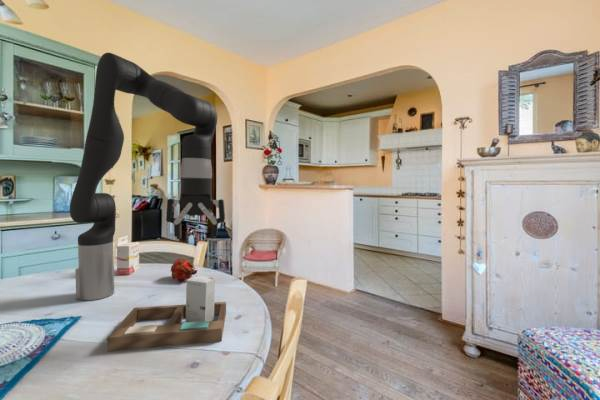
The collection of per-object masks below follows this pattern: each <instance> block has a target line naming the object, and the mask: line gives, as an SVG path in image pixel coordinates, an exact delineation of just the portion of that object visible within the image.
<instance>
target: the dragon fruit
mask: <svg viewBox="0 0 600 400" xmlns="http://www.w3.org/2000/svg"><path fill="white" fill-rule="evenodd" d="M170 272H171V278H172V279H173V280H174V279H175V280H178V282H181V283H183V282H184V283H185V282H186V281H184V280H188V279H190V278H192V277H193V275H194V276H195V275H197V273H198V270H197V269H196V268H195V266H194V264H193V263H192V261H191V260H189V259H188V260H187V259H186V258H178V259H177V260H175V261H174V263H172V265H171V267H170Z"/></svg>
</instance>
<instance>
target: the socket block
mask: <svg viewBox="0 0 600 400" xmlns="http://www.w3.org/2000/svg"><path fill="white" fill-rule="evenodd" d="M226 313H227V301H218V302H216V301H215V302H214V316H215V315H216V316H217V315H218V318H217V320H214V321H199V322H186V321H185V322H183V320H184V318H186V303H185V304H175V305H170V304H169V305H157V306H142V307H141V306H140V307H134V308H133V309H132V310H130V312H129V313H128V314H127V315H126V316H125V317H124V319H123V320H122V321H121V322H119V324H118V325H117V326H116V328H115V329H114V330H113V331H111V333H110V334H109V335H108V336H107V338H106V344H107V345H106V346H107V347H106V348H107V349H106V350H107V352H111V351H112V352H114V351H124V350H125V351H126V350H138V349H147V348H149V349H150V348H158V347H168V346H169V347H171V346H179V345H182V346H183V345H190V344H192V345H193V344H202V343H213V342H214V343H215V342H222V340H223V334H224V327H225V320H226V315H227V314H226ZM162 319H169V321H168V322H167V324H149V325H135V324H136V323H137V322H138V321H148V320H162Z"/></svg>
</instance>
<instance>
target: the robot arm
mask: <svg viewBox="0 0 600 400" xmlns="http://www.w3.org/2000/svg"><path fill="white" fill-rule="evenodd" d="M94 81H95V82H94V93H93V102H92V103H93V105H92V109H91V115H90V120H89V125H88V129H87V133H86V136H85V137H86V139H85V142H84V148H83V155H82V160H81V164H80V169H79V173H78V176H77V179H76V183H75V186H74V189H73V192H72V194H71V195H72V196H71V198H70V202H69V215H70V217H71V219H72V221H73V222H75V223H77V224H88V223H93V225H92V226H91V228H89V229H88V230H86V231H85V232H82V233H80V234H79V235H78V236H77V249H78V250H77V251H78V253H77V254H78V257H77V258H78V267H77V268H75V293H76V294H75V299H76V300H81V301H96V300H100V299H104V298H107V297H109V296H111V295H113V294H115V266H114V265H115V264H114V263H115V261H114V235H115V232H116V217H117V216H116V215H117V209H116V208H117V205H116V201H115V199H114V197H113V196H112V195H111V194H110V193H106V192H96V191H97V188H98V186H99V184H100V182H101V180H102V179H103V178H104V177H105V176H106V175H107V174H108V173H109V172H110V171H111V170H112V168H113V167H114V166H116V164H118V161H119V160H120V158H121V155H122V152H123V146H124V142H125V133H124V131H123V128H122V125H121V123H120V120H119V117H118V116H117V112H116V108H115V96H116V91H119V92H122V93H125V94H129V95H136V96H141V97H144V98H146V99H148V100H149V102H150V103H151V104H152V105H154V106H155V107H157V108H159V109H160V110H162V111H165V112H166V113H168V114H170V115H171V116H172V118H174V119H175V120H177V121H179V122H180V123H183V124H185V125H188V126H193V127H195V128H194V131H193V134H187V135H185V136H183V138H182V141H181V142H182V143H181V146H182V147H181V149H182V151H181V155H182V156H181V157H182V159H181V167H180V185H181V186H180V198H179V199H178V198H177V199H175V198H171V197H170V198H168V199H167V201H166V203H167V204H166V218H165V220H166V222H167V223H171V224H173V225H174V227H173V228H174V229H173V230H174V232H173V233H174V234H173V235H174V238H176V240H181V239H182V235H183V233H182V232H183V231H182V230H183V229H182V226H183V225H182V224H183V223H182V221H183V220H184V219H185V218H186V216H189V217H193V216H199V217H200V216H201V217H202V216H206V218H207V219H208V220H210V221H209V222H210V223H211V228H210V229H211V230H210V231H211V232H210V233H211V235H210V237H211V238H210V239H211V240H214V239H216V238H217V236H218V232H219V231H218V229H219V228H218V227H219V224H220V223H221V224H222V223H224V222H225V220H226V214H225V213H226V212H225V200H224V199H223V198H221V199H213V195H212V194H213V187H212V186H213V185H212V184H213V182H212V181H213V180H212V179H213V167H212V142H213V138H214V135H215V132H216V128H217V124H218V112H217V110H216V108H215V105H213V104H212V103H211V102H209V101H207V100H204V99H202V98H199V97H197V96H193V95H191V94H189V93H186V92H185V91H184V90H182V89H180V88H179V87H176V86H174V85H172V84H170V83H168V82H165V81H162V80H160V79H157V78H155V77H153V76H152V75H151V74H149V73H148V72H147V71H146V70H144V68H142V67H140V66H139V65H138V64H137V63H135V62H133V61H130V60H128V59H126V58H123V57H122V56H119V55H117V54H115V53H112V52H105V53H103V54H102V55H101V56H100V58H99V60H98V63H97V66H96V72H95V80H94ZM178 204H179V206H180V207H181V208H182V210H181V211H180V213H179V215H178V216H177V217H175V209H176V207H178ZM213 205H215V207H216V209H217V208H218V218H217V217H216V216H215V215H214V213H213V211H212V210H211V207H213Z"/></svg>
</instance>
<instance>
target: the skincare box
mask: <svg viewBox="0 0 600 400" xmlns="http://www.w3.org/2000/svg"><path fill="white" fill-rule="evenodd" d="M215 288H216V278H215V277H209V276H204V275H197V274H195V275H194V276H192V277H191V278H190V279H188V278H187V279H186V289H185V291H186V293H185V298H186V299H185V301H186V302H185V304H186V317H185V323H186V322H199V321H215V315H214V303H215V298H216V297H215V296H216V295H215V294H216V289H215Z"/></svg>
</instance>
